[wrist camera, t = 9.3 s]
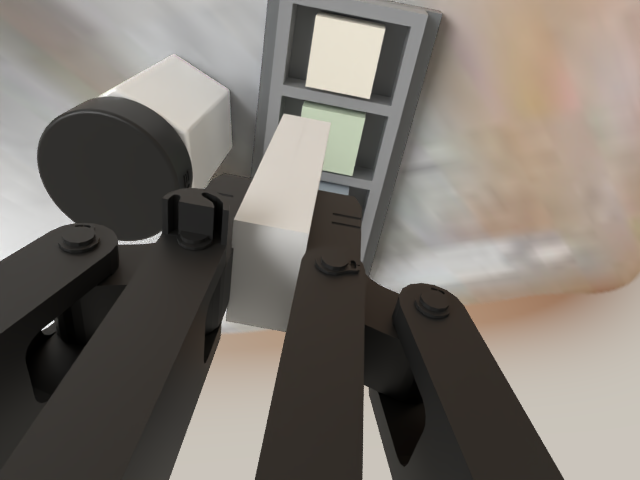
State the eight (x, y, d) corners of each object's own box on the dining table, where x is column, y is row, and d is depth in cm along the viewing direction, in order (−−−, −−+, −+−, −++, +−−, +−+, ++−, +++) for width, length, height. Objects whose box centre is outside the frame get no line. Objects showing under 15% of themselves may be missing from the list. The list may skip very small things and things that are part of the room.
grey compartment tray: (245, 260, 43) (235, 284, 40) (274, -22, 31) (262, -18, 28) (363, 284, 43) (363, 310, 40) (439, 10, 31) (446, 18, 28)
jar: (168, 181, 40) (96, 263, 30) (104, 92, 36) (-1, 151, 26) (258, 137, 37) (213, 212, 27) (199, 36, 33) (121, 78, 23)
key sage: (297, 153, 35) (293, 164, 33) (306, 97, 33) (302, 106, 31) (353, 164, 35) (352, 176, 33) (365, 109, 33) (365, 118, 31)
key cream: (309, 78, 32) (305, 86, 30) (319, 11, 30) (315, 15, 28) (369, 90, 32) (369, 99, 30) (384, 24, 30) (385, 29, 28)
